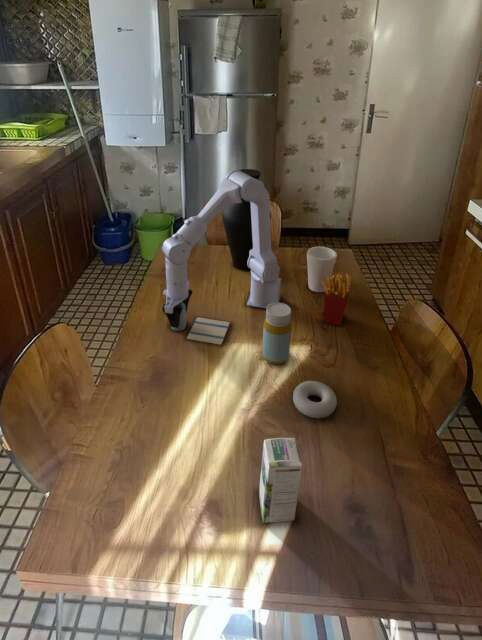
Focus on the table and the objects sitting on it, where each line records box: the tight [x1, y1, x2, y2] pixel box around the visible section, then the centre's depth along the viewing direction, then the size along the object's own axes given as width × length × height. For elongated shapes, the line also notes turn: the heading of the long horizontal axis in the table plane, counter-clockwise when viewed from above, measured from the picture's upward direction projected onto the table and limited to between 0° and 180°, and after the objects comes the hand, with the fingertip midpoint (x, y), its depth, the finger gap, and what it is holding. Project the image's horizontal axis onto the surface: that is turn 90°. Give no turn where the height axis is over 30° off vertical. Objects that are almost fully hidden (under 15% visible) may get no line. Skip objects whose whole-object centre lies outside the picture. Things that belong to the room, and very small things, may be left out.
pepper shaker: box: [170, 302, 187, 332], centre depth 124 cm, size 4×4×8 cm
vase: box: [221, 168, 272, 271], centre depth 152 cm, size 17×17×35 cm
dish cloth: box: [186, 316, 231, 346], centre depth 124 cm, size 10×10×1 cm
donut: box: [292, 380, 338, 419], centre depth 100 cm, size 10×4×10 cm
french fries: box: [321, 273, 352, 326], centre depth 128 cm, size 9×8×15 cm
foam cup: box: [306, 246, 338, 293], centre depth 144 cm, size 10×9×13 cm
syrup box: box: [258, 437, 303, 524], centre depth 76 cm, size 6×6×14 cm
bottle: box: [261, 302, 292, 365], centre depth 112 cm, size 7×7×15 cm
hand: (178, 319), depth 125 cm, fingers open, 6 cm apart
